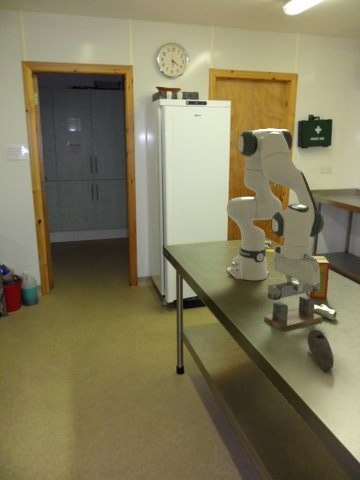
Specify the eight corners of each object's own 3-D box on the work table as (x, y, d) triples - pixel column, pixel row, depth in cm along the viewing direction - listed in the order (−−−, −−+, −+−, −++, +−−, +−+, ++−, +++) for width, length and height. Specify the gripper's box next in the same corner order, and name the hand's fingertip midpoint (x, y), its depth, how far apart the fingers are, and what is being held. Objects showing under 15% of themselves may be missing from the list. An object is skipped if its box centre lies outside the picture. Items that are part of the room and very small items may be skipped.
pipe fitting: (319, 311, 144) (311, 315, 139) (320, 301, 143) (312, 305, 139) (339, 317, 138) (332, 321, 134) (341, 307, 138) (333, 311, 133)
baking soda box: (326, 299, 153) (329, 261, 150) (310, 298, 154) (312, 261, 151) (321, 290, 163) (323, 255, 159) (305, 290, 163) (307, 255, 160)
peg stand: (264, 319, 136) (264, 300, 135) (302, 310, 143) (303, 292, 142) (281, 331, 127) (282, 310, 126) (322, 320, 134) (323, 301, 133)
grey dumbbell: (265, 296, 130) (265, 285, 130) (313, 286, 139) (314, 276, 138) (273, 300, 127) (273, 289, 126) (322, 290, 135) (323, 279, 134)
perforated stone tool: (338, 377, 101) (340, 354, 100) (318, 376, 102) (319, 353, 100) (323, 348, 116) (324, 328, 114) (305, 348, 116) (306, 328, 115)
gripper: (326, 257, 121) (323, 297, 124) (284, 244, 139) (283, 279, 143) (311, 260, 119) (308, 300, 122) (271, 246, 137) (269, 281, 140)
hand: (294, 289), depth 132 cm, fingers closed on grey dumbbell, 3 cm apart
